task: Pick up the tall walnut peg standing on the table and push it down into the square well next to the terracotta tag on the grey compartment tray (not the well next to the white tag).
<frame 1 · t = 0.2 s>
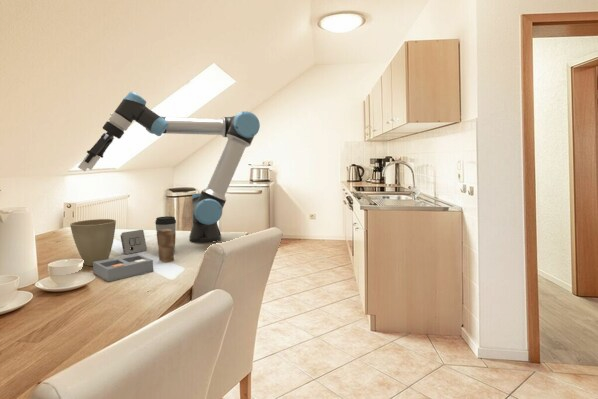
hand: (84, 168, 143), 36 cm above the table, tool tilted 35°, fingers open, 13 cm apart
electrical switch: (133, 252, 153), on the table
grey compartment tray: (123, 272, 125), on the table
plug: (166, 260, 140), on the table
coffee cup: (166, 253, 151), on the table
plant pot: (96, 263, 135), on the table
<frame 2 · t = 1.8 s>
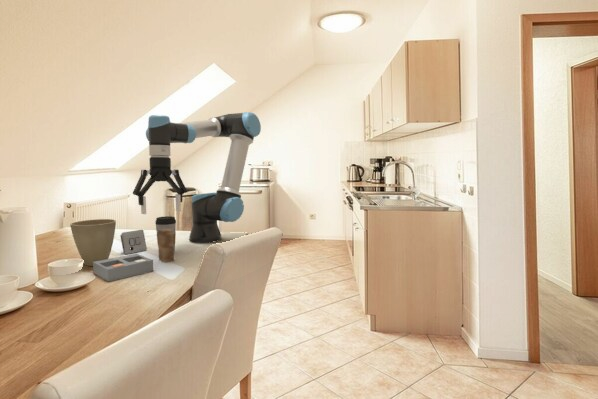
hand: (161, 212, 138), 19 cm above the table, tool pointing down, fingers open, 13 cm apart
nothing on the table moved.
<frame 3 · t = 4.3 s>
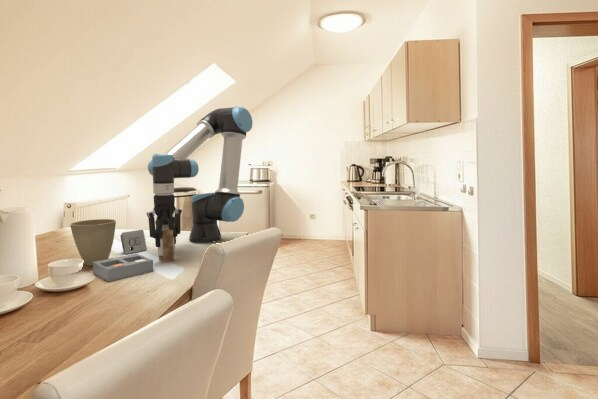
hand: (166, 253, 139), 3 cm above the table, tool pointing down, fingers closed on plug, 4 cm apart
plug: (166, 260, 140), on the table, touching gripper
everything else where it was.
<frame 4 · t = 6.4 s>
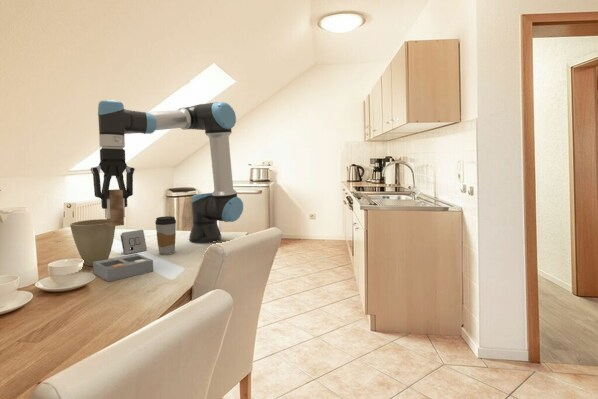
hand: (115, 217, 121), 20 cm above the table, tool pointing down, fingers closed on plug, 4 cm apart
plug: (115, 225, 122), point 17 cm above the table, touching gripper
everything else where it was.
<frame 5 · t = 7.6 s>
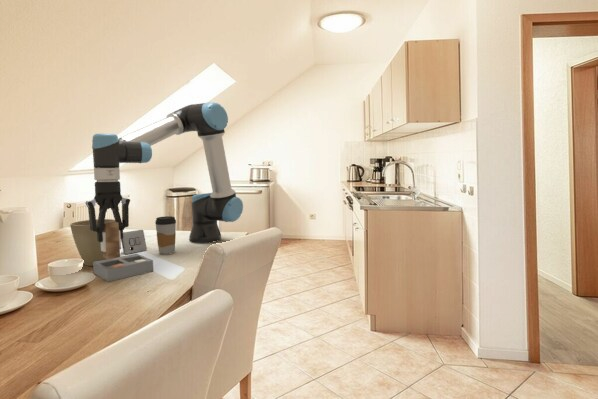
hand: (111, 249, 121), 9 cm above the table, tool pointing down, fingers closed on plug, 4 cm apart
plug: (111, 257, 121), point 6 cm above the table, touching gripper
everything else where it was.
when the fingers open (5 cm above the table, at t = 8.6 s): plug drops 1 cm, resting on grey compartment tray.
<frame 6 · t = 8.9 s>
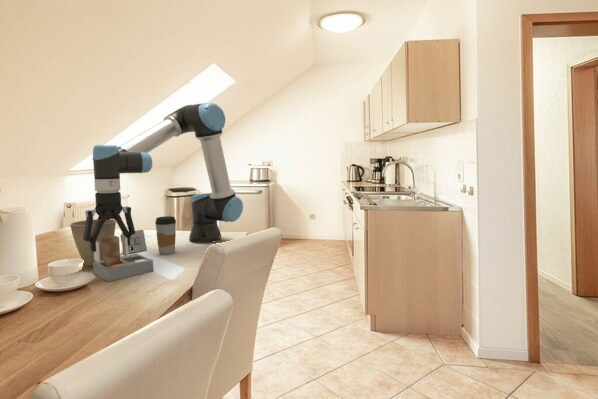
hand: (111, 258, 121), 6 cm above the table, tool pointing down, fingers open, 8 cm apart
plug: (112, 271, 122), point 1 cm above the table, touching grey compartment tray
everything else where it was.
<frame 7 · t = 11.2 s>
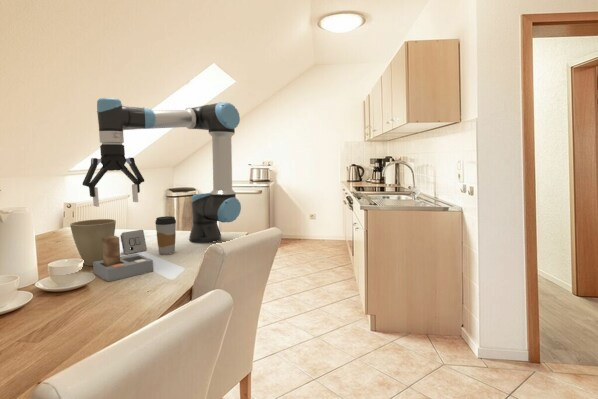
hand: (116, 204, 127), 23 cm above the table, tool pointing down, fingers open, 13 cm apart
nothing on the table moved.
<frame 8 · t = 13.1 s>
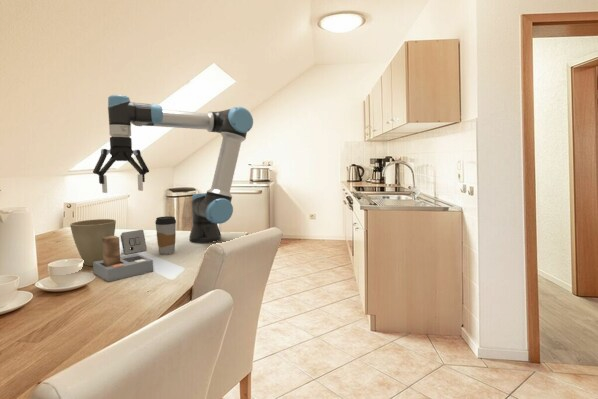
hand: (123, 191, 140), 27 cm above the table, tool pointing down, fingers open, 13 cm apart
nothing on the table moved.
at the end: plug 0.0 cm from the target spot on the grey compartment tray, point 1.0 cm above the grey compartment tray's base; plug tilted 0°; the gripper is holding nothing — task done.
